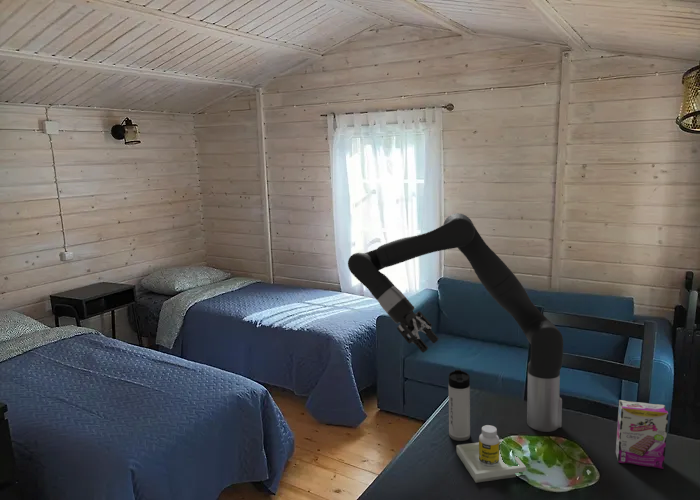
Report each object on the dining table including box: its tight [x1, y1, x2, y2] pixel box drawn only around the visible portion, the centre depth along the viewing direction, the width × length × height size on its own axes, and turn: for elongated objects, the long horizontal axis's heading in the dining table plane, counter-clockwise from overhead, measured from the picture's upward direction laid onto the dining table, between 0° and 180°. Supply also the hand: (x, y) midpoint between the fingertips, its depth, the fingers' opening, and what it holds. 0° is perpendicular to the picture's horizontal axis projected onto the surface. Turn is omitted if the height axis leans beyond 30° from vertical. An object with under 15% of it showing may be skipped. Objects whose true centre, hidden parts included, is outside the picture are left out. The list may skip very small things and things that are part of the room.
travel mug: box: [448, 369, 471, 442], centre depth 156 cm, size 6×7×20 cm
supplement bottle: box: [478, 424, 500, 466], centre depth 142 cm, size 5×5×10 cm
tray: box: [456, 438, 527, 484], centre depth 142 cm, size 14×14×2 cm
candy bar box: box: [615, 399, 669, 470], centre depth 139 cm, size 11×5×16 cm, turn 71°
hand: (431, 345), depth 154 cm, fingers open, 8 cm apart
